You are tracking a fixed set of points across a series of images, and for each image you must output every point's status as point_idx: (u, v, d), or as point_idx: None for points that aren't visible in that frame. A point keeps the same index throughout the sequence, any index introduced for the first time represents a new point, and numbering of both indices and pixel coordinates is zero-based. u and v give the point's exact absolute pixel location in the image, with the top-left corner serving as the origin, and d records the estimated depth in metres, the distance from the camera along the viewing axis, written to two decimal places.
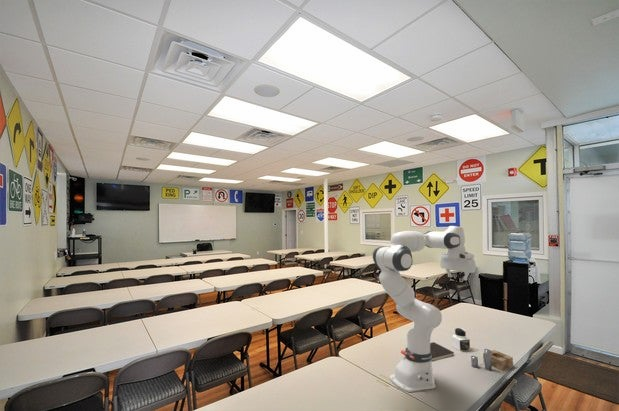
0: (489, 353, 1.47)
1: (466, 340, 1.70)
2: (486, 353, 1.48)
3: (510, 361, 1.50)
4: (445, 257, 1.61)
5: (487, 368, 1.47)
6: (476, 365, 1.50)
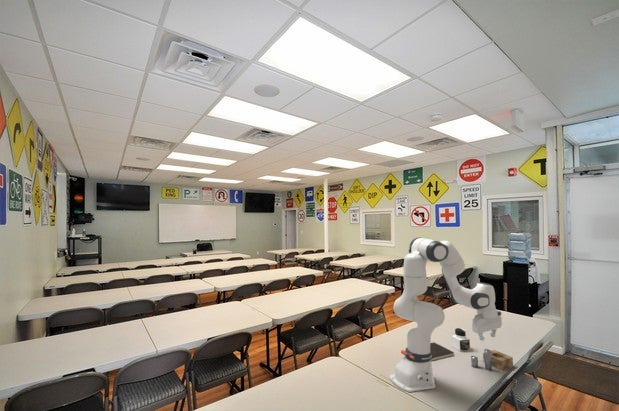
0: (489, 353, 1.47)
1: (466, 340, 1.70)
2: (486, 353, 1.48)
3: (510, 361, 1.50)
4: (482, 320, 1.46)
5: (487, 368, 1.47)
6: (476, 365, 1.50)
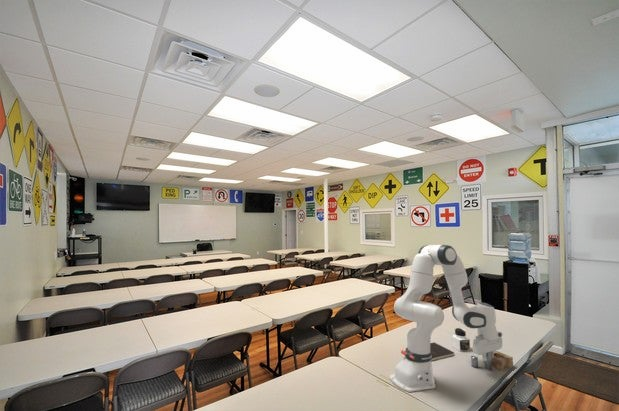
0: (489, 353, 1.47)
1: (466, 340, 1.70)
2: (486, 353, 1.48)
3: (510, 361, 1.50)
4: (483, 341, 1.45)
5: (487, 368, 1.47)
6: (476, 365, 1.50)
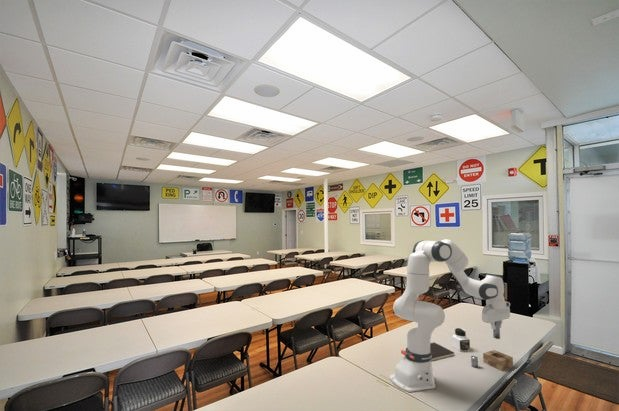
0: (497, 322, 1.53)
1: (466, 340, 1.70)
2: None
3: (510, 361, 1.50)
4: (492, 310, 1.51)
5: (495, 336, 1.54)
6: (476, 365, 1.50)
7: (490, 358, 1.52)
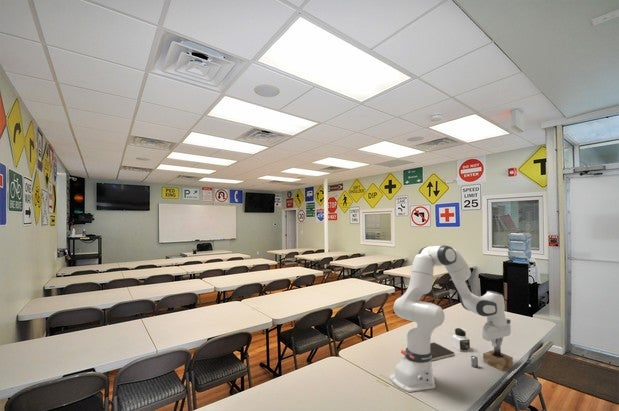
0: (498, 339, 1.53)
1: (466, 340, 1.70)
2: None
3: (510, 361, 1.50)
4: (492, 327, 1.51)
5: (496, 354, 1.53)
6: (476, 365, 1.50)
7: (490, 358, 1.52)
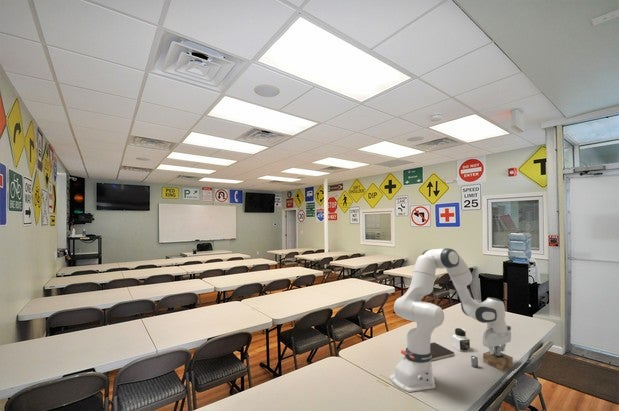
0: (498, 349, 1.52)
1: (466, 340, 1.70)
2: (496, 349, 1.53)
3: (510, 361, 1.50)
4: (493, 334, 1.51)
5: None
6: (476, 365, 1.50)
7: (490, 358, 1.52)
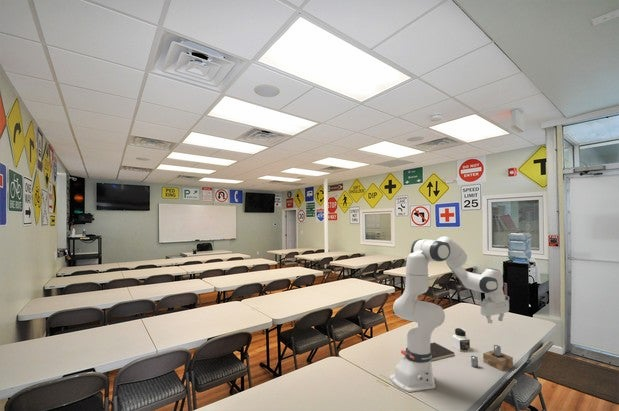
0: (498, 349, 1.52)
1: (466, 340, 1.70)
2: (496, 349, 1.53)
3: (510, 361, 1.50)
4: (490, 303, 1.52)
5: None
6: (476, 365, 1.50)
7: (490, 358, 1.52)
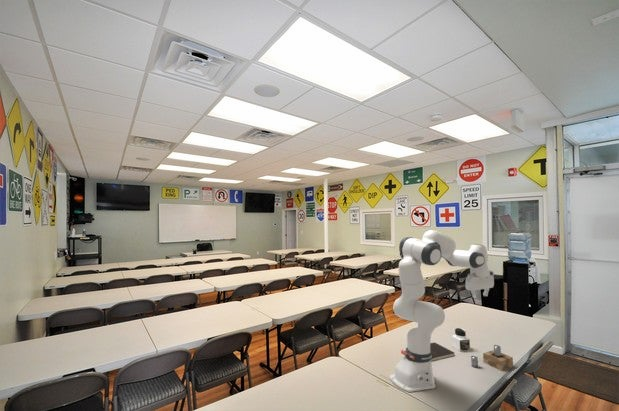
0: (498, 349, 1.53)
1: (466, 340, 1.70)
2: (496, 349, 1.53)
3: (510, 361, 1.50)
4: (475, 278, 1.53)
5: None
6: (476, 365, 1.50)
7: (490, 358, 1.52)
